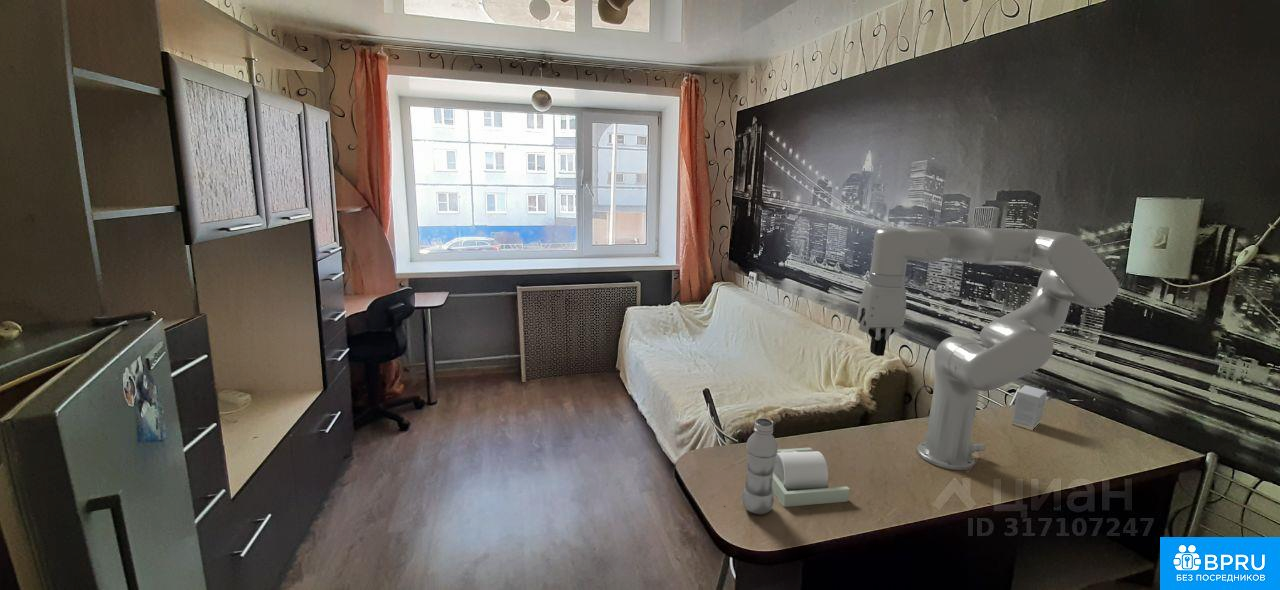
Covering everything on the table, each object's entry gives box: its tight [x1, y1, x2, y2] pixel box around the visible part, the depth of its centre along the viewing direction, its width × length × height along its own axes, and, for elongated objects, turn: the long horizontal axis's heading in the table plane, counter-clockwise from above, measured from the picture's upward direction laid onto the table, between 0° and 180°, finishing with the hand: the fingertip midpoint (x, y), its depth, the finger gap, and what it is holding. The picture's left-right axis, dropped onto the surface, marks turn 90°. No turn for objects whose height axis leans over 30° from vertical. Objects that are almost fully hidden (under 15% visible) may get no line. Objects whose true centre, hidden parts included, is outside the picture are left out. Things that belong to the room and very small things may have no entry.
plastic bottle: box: [742, 417, 779, 515], centre depth 109 cm, size 6×7×20 cm
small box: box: [1011, 384, 1048, 428], centre depth 152 cm, size 8×6×10 cm
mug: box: [773, 450, 829, 491], centre depth 121 cm, size 12×10×8 cm
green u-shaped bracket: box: [773, 447, 851, 508], centre depth 122 cm, size 15×18×3 cm
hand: (876, 354), depth 128 cm, fingers closed
